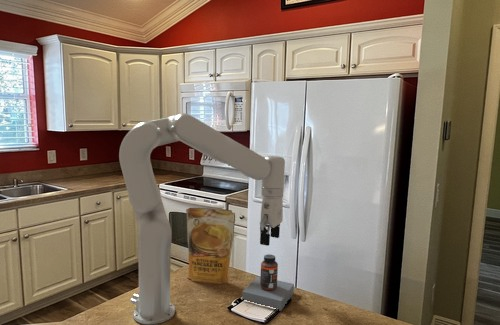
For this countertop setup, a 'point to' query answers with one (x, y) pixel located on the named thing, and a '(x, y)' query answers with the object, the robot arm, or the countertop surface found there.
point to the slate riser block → (269, 294)
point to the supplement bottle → (269, 273)
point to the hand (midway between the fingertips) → (269, 240)
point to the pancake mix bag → (209, 244)
